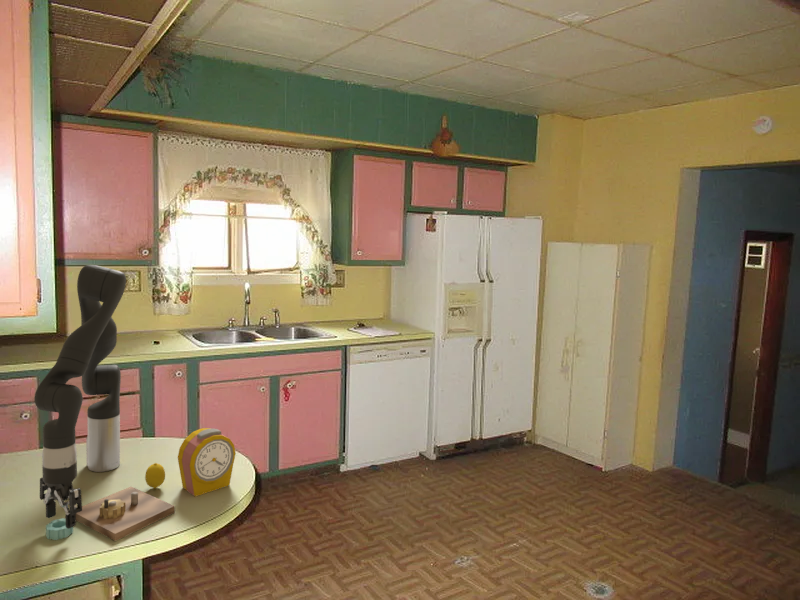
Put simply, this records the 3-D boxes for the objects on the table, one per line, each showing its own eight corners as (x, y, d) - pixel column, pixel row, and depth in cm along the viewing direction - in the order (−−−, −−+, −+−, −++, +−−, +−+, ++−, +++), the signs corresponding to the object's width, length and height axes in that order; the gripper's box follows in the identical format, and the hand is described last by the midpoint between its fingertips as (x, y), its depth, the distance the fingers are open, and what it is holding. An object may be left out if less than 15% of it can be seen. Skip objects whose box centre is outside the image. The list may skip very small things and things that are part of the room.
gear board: (71, 517, 159) (70, 495, 158) (131, 492, 174) (131, 472, 173) (115, 541, 149) (115, 517, 148) (174, 512, 165) (174, 490, 164)
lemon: (157, 493, 175) (158, 468, 174) (141, 491, 176) (141, 465, 175) (168, 485, 180) (169, 461, 179) (152, 483, 181) (152, 458, 180)
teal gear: (40, 534, 150) (40, 525, 150) (64, 524, 155) (64, 515, 155) (54, 542, 147) (54, 533, 147) (77, 532, 152) (77, 523, 152)
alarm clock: (190, 499, 173) (191, 439, 170) (177, 489, 178) (178, 431, 176) (235, 484, 184) (237, 428, 181) (221, 475, 189) (223, 420, 187)
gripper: (28, 458, 148) (29, 519, 151) (61, 473, 142) (62, 537, 144) (58, 449, 155) (59, 508, 157) (91, 463, 148) (91, 524, 150)
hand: (60, 521), depth 150 cm, fingers open, 8 cm apart
